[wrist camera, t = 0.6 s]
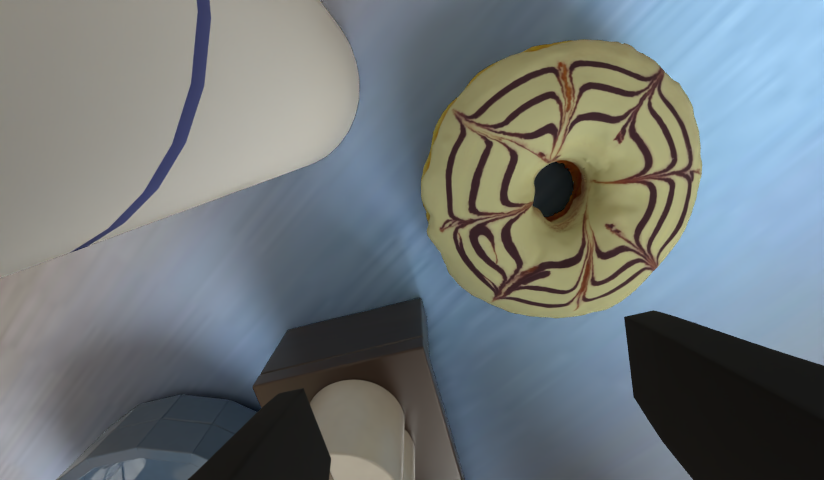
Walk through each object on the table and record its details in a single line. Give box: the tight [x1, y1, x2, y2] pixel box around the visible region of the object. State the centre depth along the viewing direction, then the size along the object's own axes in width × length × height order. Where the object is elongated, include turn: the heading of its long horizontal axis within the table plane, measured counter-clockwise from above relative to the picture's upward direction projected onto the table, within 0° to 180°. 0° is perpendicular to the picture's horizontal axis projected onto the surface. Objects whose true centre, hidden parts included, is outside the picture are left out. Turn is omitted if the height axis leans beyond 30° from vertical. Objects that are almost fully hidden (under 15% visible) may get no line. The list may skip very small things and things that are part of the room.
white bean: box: [310, 379, 415, 480], centre depth 14 cm, size 6×4×4 cm
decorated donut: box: [421, 39, 702, 318], centre depth 16 cm, size 10×11×4 cm
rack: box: [253, 298, 465, 480], centre depth 19 cm, size 16×7×4 cm, turn 15°
